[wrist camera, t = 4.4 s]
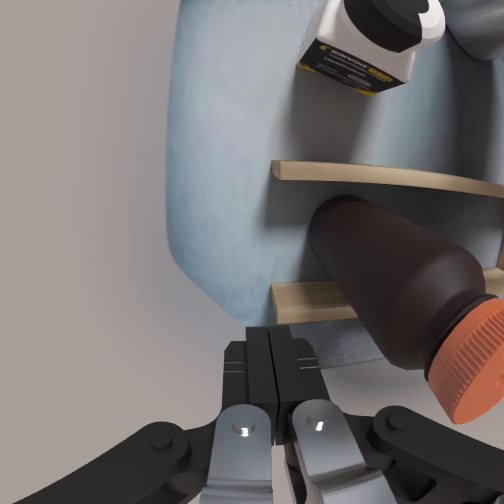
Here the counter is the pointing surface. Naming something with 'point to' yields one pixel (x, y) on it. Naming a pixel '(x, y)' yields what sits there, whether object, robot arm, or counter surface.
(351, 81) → the medicine bottle
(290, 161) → the u rest
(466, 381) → the vinegar
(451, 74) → the counter surface
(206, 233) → the counter surface
